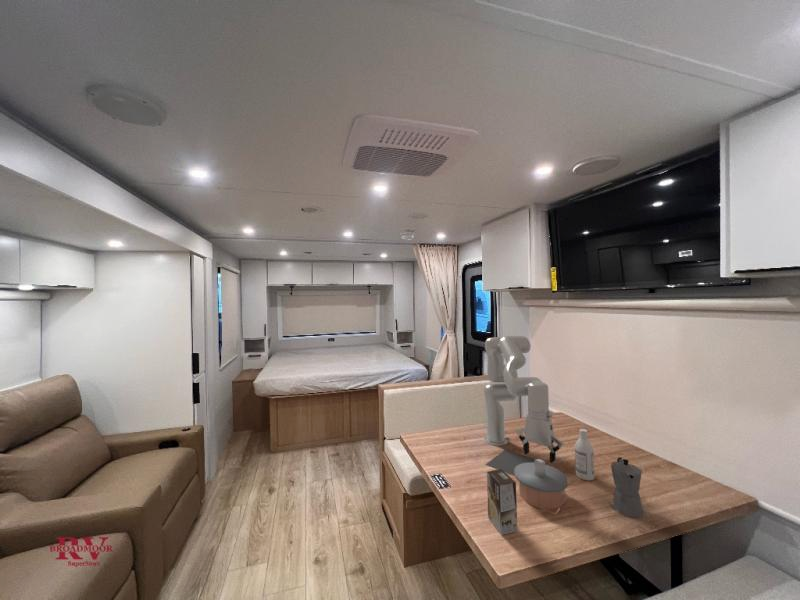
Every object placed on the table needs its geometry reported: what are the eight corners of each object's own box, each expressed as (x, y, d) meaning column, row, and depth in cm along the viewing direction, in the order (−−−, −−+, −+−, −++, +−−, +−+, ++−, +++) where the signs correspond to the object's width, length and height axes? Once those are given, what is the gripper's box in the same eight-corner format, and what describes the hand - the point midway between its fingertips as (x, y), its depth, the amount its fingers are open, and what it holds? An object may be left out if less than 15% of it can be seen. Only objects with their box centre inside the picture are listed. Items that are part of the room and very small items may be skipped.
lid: (525, 460, 133) (525, 446, 134) (573, 476, 120) (573, 460, 120) (506, 478, 120) (505, 462, 120) (558, 499, 106) (558, 480, 107)
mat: (505, 450, 158) (505, 449, 158) (547, 463, 144) (547, 463, 144) (485, 465, 143) (485, 464, 143) (530, 482, 129) (530, 481, 129)
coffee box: (518, 532, 101) (517, 482, 101) (501, 535, 99) (499, 485, 100) (503, 513, 110) (501, 468, 110) (486, 516, 108) (485, 471, 109)
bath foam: (588, 472, 136) (586, 427, 137) (598, 481, 129) (596, 433, 130) (572, 472, 136) (571, 427, 137) (581, 481, 129) (580, 433, 130)
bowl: (528, 479, 131) (527, 463, 131) (569, 495, 120) (568, 477, 120) (512, 496, 119) (511, 478, 120) (556, 515, 108) (555, 495, 109)
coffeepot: (651, 525, 103) (648, 470, 103) (617, 518, 106) (615, 466, 107) (634, 498, 117) (633, 450, 118) (606, 493, 121) (604, 447, 121)
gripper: (565, 416, 117) (566, 461, 117) (520, 406, 129) (521, 447, 129) (558, 422, 112) (559, 469, 112) (512, 411, 124) (513, 453, 124)
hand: (539, 457), depth 121 cm, fingers open, 9 cm apart
